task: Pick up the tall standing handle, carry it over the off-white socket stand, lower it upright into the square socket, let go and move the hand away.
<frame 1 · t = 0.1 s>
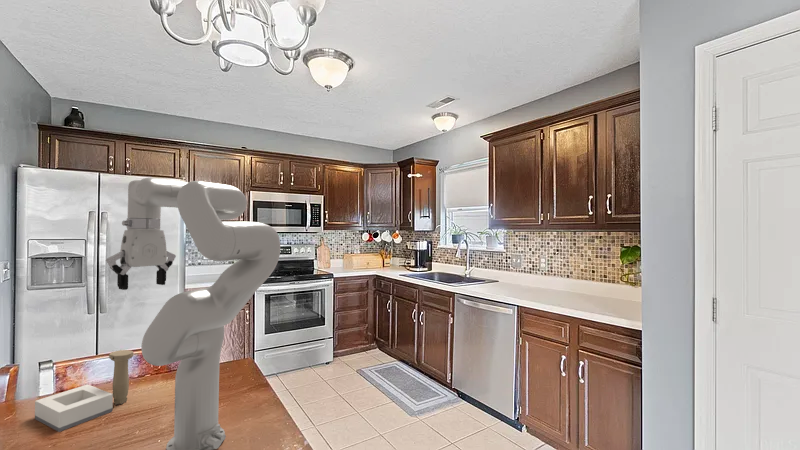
hand: (142, 286, 101), 37 cm above the table, tool pointing down, fingers open, 9 cm apart
socket stand: (74, 415, 103), on the table
handle: (120, 403, 110), on the table
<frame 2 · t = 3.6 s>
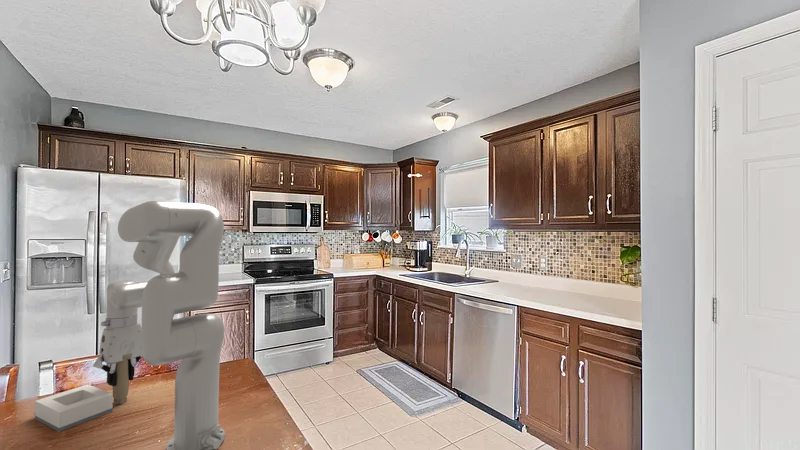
hand: (120, 381, 110), 6 cm above the table, tool pointing down, fingers closed on handle, 3 cm apart
handle: (120, 403, 110), on the table, touching gripper
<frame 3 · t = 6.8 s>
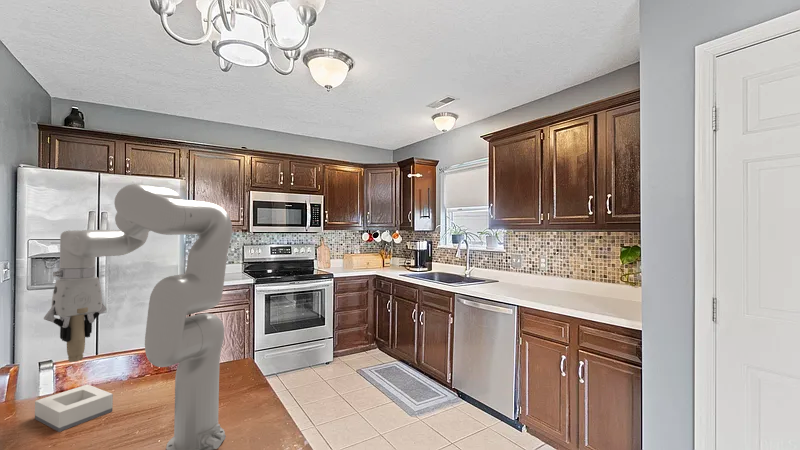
hand: (76, 338, 103), 22 cm above the table, tool pointing down, fingers closed on handle, 3 cm apart
handle: (75, 361, 103), point 15 cm above the table, touching gripper
when the fingers open (9 cm above the table, at t = 9.9 s): handle drops 1 cm, resting on socket stand.
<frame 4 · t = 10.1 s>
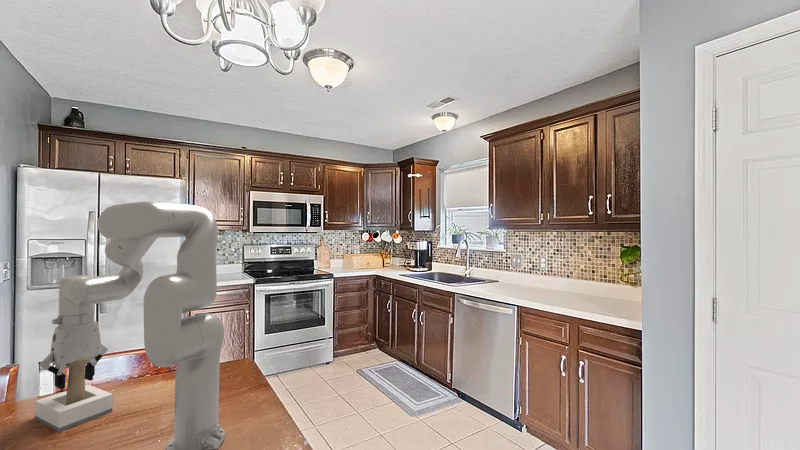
hand: (75, 383, 103), 9 cm above the table, tool pointing down, fingers open, 5 cm apart
handle: (75, 412, 103), point 1 cm above the table, touching socket stand
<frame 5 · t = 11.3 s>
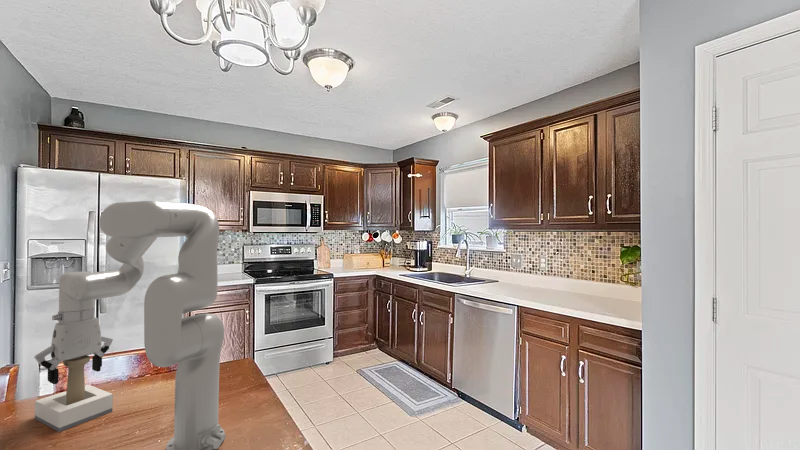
hand: (75, 376, 103), 11 cm above the table, tool pointing down, fingers open, 9 cm apart
nothing on the table moved.
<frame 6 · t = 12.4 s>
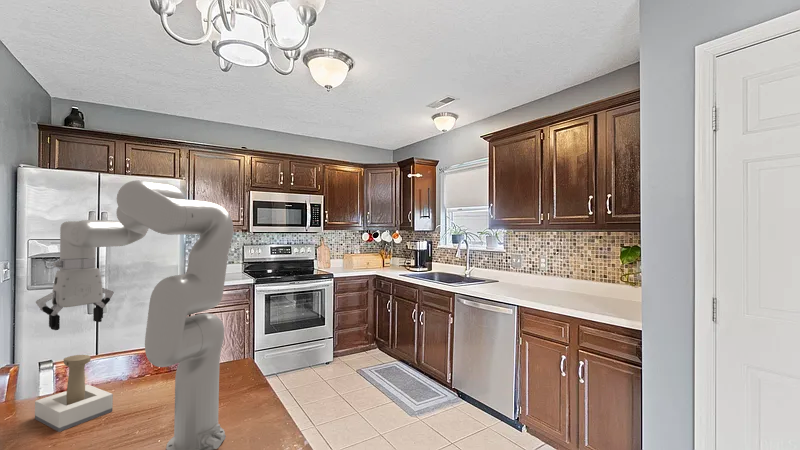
hand: (77, 325, 103), 25 cm above the table, tool pointing down, fingers open, 9 cm apart
nothing on the table moved.
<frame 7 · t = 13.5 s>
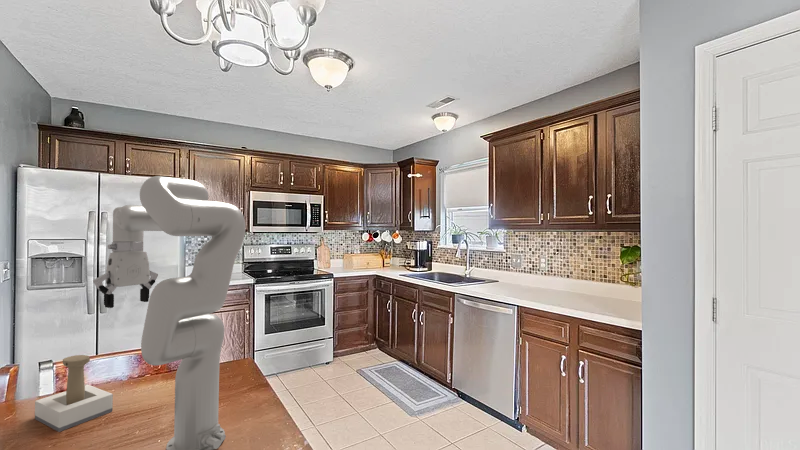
hand: (127, 304, 110), 30 cm above the table, tool pointing down, fingers open, 9 cm apart
nothing on the table moved.
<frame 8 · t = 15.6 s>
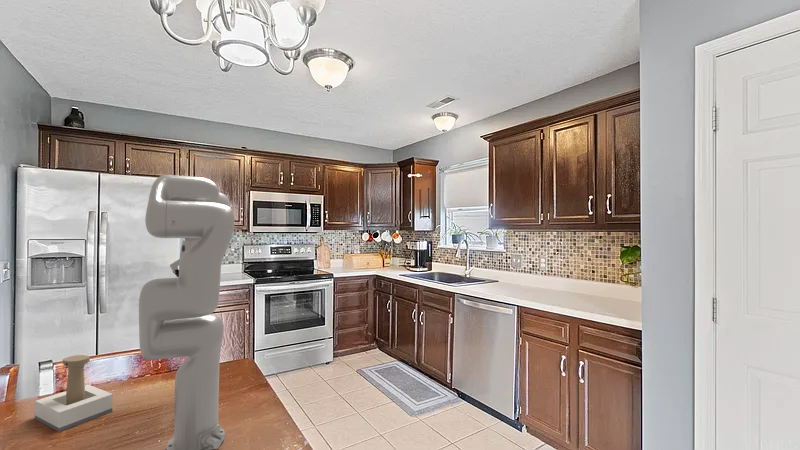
hand: (196, 287, 121), 33 cm above the table, tool pointing down, fingers open, 9 cm apart
nothing on the table moved.
at the end: handle 0.2 cm off-centre on the socket stand, point 0.8 cm above the socket stand's base; handle tilted 0°; the gripper is holding nothing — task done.
